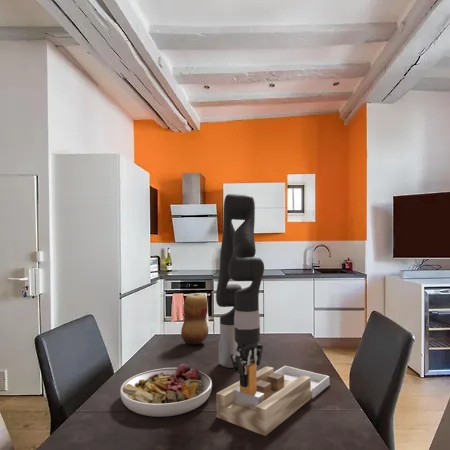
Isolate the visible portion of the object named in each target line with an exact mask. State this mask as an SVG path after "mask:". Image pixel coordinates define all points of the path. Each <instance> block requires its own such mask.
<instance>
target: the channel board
mask: <svg viewBox="0 0 450 450" xmlns="http://www.w3.org/2000/svg"><path fill="white" fill-rule="evenodd" d="M273 372H275V370H274V367H271V366H264V367H262V368H261V369H259V370H256V380H257V382H258V381H260V380H262V381H266V382H267V376H268V375H270V374H272V373H273ZM238 386H240V380H238V381H236V382H235V383H233V384H231V385H229V386H227V387H225V388H224V389H222V390H220V391H218V392H216V395H215V396H216V399H215V400H216V418H218V419H221V420H223V421H226V422H228V423H231V424H233V425H236V426H239V427H241V428H243V429H246V430H248V431H251V432H254V433H256V434H259V435H262V436H263V437H266V436H268V435H269V434H270V433H271V432H272V431H273V430H275V429H276V428H278V426H280V425H281V424H282V423H283V422H284V421H286V420H287V419H288V418H289V417H291V415H293V414H294V413H296V412H297V410H299V409H300V408H301V407H302V406H304V405H305V404H306V403H307V402H309V401H310V400H311V399H312V398H311V379H310V377H308V376H304V375H301V376H300V377H298V378H297V379H295V380H294V381H289V380H285V379H284V388H282V389H281V390H279V391H278V392H277V391H274V390H271V396H270V397H269V398H267V399H266V400H265V401H263V402H262V403H260V404H259V405H257V406H256V411H255V410H252V409H249V408H246V407H243V406H241V405H238V404H235V403H233V389H235V388H236V387H238Z"/></svg>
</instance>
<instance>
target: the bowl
mask: <svg viewBox="0 0 450 450" xmlns="http://www.w3.org/2000/svg"><path fill="white" fill-rule="evenodd" d="M212 388H213V382H212V379H211V377H210V376H209V375H207V374H206V373H205V372H202V371H200V370H198V369H197V368H191V366H190V364H188V363H186V362H184V363H181V364H180V365H179V366H177V367H163V368H157V369H151V370H147V371H144V372H141V373H137V374H135V375H133V376H131V377H130V378H128V379H126V380H125V381H124V382H123V383H122V385H121V386H120V399H121V401H122V403H123V404H124V405H125V406H126V408H127V409H129V410H130V411H132V412H133V413H136V414H139V415H142V416H148V417H172V416H177V415H178V416H179V415H183V414H186V413H188V412H191V411H193V410H195V409H197V408H200V406H202V405H203V404H204V403H205V402H206V401H207V400H208V398H209V397H210V395H211V392H212V390H213V389H212Z"/></svg>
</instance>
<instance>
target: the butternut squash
mask: <svg viewBox="0 0 450 450" xmlns="http://www.w3.org/2000/svg"><path fill="white" fill-rule="evenodd" d="M207 315H208V298H207V296H205V295H204V294H203V293H197V292H195V293H188V295H186V296H185V299H184V302H183V318H184V319H183V324H182V327H181V330H180V331H181V332H180V333H181V334H180V335H181V338H182V341H183V342H184V343H185V344H187V345H200V344H201V343H202V342H204V341H205V340H206V339H207V338H208V336H209V325H208V322H207Z"/></svg>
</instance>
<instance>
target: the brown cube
mask: <svg viewBox="0 0 450 450" xmlns="http://www.w3.org/2000/svg"><path fill="white" fill-rule="evenodd" d="M274 372H275V371H274ZM274 372H273V373H272V374H270V375H268V376H267V382H269V383H271V390H274V391H277V392H278V391H279V390H281V389H282V388H284V375H282V374H278V373H274Z"/></svg>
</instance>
